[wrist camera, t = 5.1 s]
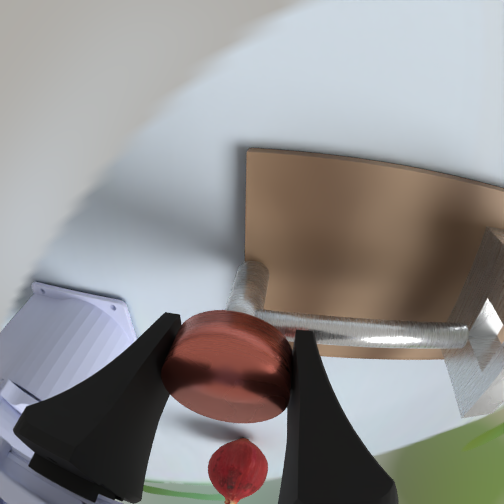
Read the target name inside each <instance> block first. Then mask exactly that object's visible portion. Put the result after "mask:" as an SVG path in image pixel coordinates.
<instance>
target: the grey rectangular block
mask: <svg viewBox="0 0 504 504" xmlns="http://www.w3.org/2000/svg"><path fill="white" fill-rule="evenodd" d="M447 322H454V323H465V324H466V325H467V327H468V332H469V334H468V341H467V343H466V345H465V346H464V347H463V348H449V349H441V351H442V354H443V357H444V360H445V363H446V366H447V370H448V373H449V376H450V379H451V383H452V386H453V389H454V393H455V396H456V400H457V404H458V408H459V411H460V415H461V418H466V417H473V416H479V415H485V414H490V413H493V412H494V411H495V410H496V409H497V408H498V407H499V406H500V405H501V403H502V402H503V401H504V342H503V343H502V344H501V342H500V340H499V338H498V336H497V335H498V333H499V331H500V330H501V328H502V326H504V229H499V228H493V227H488V226H486V229H485V232H484V235H483V238H482V241H481V244H480V246H479V249H478V252H477V254H476V257H475V260H474V262H473V265H472V267H471V270H470V272H469V274H468V277H467V279H466V281H465V284H464V286H463V288H462V290H461V293H460V295H459V297H458V299H457V301H456V303H455V306H454V308H453V310H452V312H451V314H450V316H449V318H448V320H447Z"/></svg>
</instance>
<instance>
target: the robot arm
mask: <svg viewBox="0 0 504 504" xmlns="http://www.w3.org/2000/svg"><path fill="white" fill-rule="evenodd" d="M31 288H32V290H33V293H34V294H33V296H32V297H31V298H30V299H29V300H28V301H27V302H26V303H25V304H24V306H23V307H22V308H21V309H20V310H19V311H18V312H17V313H16V315H15V316H14V317H13V318H12V319H11V320H10V322H9V323H8V324H7V325H6V326H5V328H4V329H3V330H2V331H1V332H0V504H122V503H120V502H117V501H115V499H117V500H120V501H123V500H125V501H127V502H130V503H133V504H134V503H137V502H139V501H141V499H142V492H143V486H144V480H145V474H146V470H147V465H148V460H149V456H150V452H151V448H152V444H153V440H154V436H155V433H156V429H157V426H158V422H159V420H160V417H161V414H162V412H163V409H164V407H165V405H166V402H167V400H168V397H169V395H170V393H169V392H168V391H167V390H166V388H165V386H164V384H163V382H162V378H161V370H162V367H163V365H164V362H165V360H166V358H167V356H168V353H169V351H170V349H171V346H172V344H173V342H174V340H175V337H176V335H177V333H178V331H179V329H180V327H181V319H180V315H179V314H173V313H167V312H165V313H164V314H163V315H162V316H161V317H160V318H159V319H158V320H157V321H156V322H155V323H154V324H153V325H151V326H150V327H149V328H148V329H147V330H146V331H145V332H144V333H143V334H142V335H141V336H140V337H139V338H138V339H137V337H136V334H135V331H134V327H133V324H132V321H131V317H130V314H129V310H128V307H127V305H126V303H125V302H123V301H121V300H117V299H112V298H107V297H102V296H97V295H92V294H87V293H83V292H78V291H74V290H69V289H65V288H60V287H56V286H51V285H47V284H43V283H39V282H33V283H32V284H31ZM292 351H293V365H292V377H291V389H290V400H289V404H288V406H287V445H286V453H285V461H284V468H283V475H282V482H281V488H280V495H279V501H278V504H398V495H397V489H396V486H395V482H394V481H393V479H392V478H391V477H390V476H389V475H388V474H387V473H386V472H385V471H384V469H383V468H382V467H381V466H380V465H379V464H378V462H377V461H376V460H375V459H374V457H373V456H372V455H371V453H370V452H369V451H368V449H367V448H366V446H365V445H364V444H363V442H362V441H361V439H360V438H359V436H358V435H357V433H356V432H355V430H354V429H353V427H352V425H351V424H350V422H349V420H348V419H347V417H346V415H345V413H344V411H343V410H342V408H341V406H340V404H339V402H338V400H337V397H336V395H335V393H334V391H333V389H332V386H331V384H330V382H329V379H328V376H327V374H326V371H325V369H324V366H323V363H322V360H321V357H320V354H319V350H318V347H317V343H316V338H315V333H314V332H313V331H307V330H296V333H295V339H294V345H293V350H292Z"/></svg>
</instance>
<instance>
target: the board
mask: <svg viewBox="0 0 504 504" xmlns="http://www.w3.org/2000/svg"><path fill="white" fill-rule="evenodd" d="M486 226H488V227H493V228H499V229H504V188H501V187H497V186H494V185H490V184H486V183H482V182H478V181H474V180H470V179H466V178H462V177H458V176H453V175H449V174H444V173H440V172H435V171H430V170H425V169H420V168H415V167H410V166H404V165H398V164H393V163H387V162H380V161H374V160H367V159H360V158H353V157H346V156H338V155H329V154H320V153H311V152H301V151H289V150H277V149H262V148H249V149H248V151H247V162H246V213H245V262H246V261H258V262H260V263H262V264H264V265H265V266H266V267H267V269H268V270H269V282H268V287H267V293H266V299H265V304H264V309H265V310H274V311H283V312H293V313H304V314H314V315H326V316H338V317H351V318H366V319H382V320H400V321H422V322H447V320H448V318H449V316H450V314H451V312H452V310H453V308H454V306H455V303H456V301H457V299H458V297H459V295H460V293H461V290H462V288H463V286H464V284H465V281H466V279H467V277H468V274H469V272H470V270H471V267H472V265H473V262H474V260H475V257H476V254H477V252H478V249H479V246H480V244H481V241H482V238H483V235H484V232H485V229H486ZM497 336H498V338H499V340H500V342H501V344H502V343H503V342H504V326H502V328H501V330H500V331H499V333H498V335H497ZM288 342H289V343H290V345H291V348H292V350H293V345H294V342H291V341H288ZM317 347H318V350H319V354H320V356H327V357H343V358H363V359H398V360H432V359H444V357H443V354H442V351H441V349H413V348H377V347H356V346H339V345H325V344H317Z"/></svg>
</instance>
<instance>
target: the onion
mask: <svg viewBox="0 0 504 504" xmlns="http://www.w3.org/2000/svg"><path fill="white" fill-rule="evenodd" d="M267 472H268V463H267V460H266V458H265V456H264V454H263V453H262V452H261V451H260V449H259V448H258V447H257V446H256V445H255V444H253V443H252V442H250V441H249V440H248V439H246V438H240V439H238V440H235V441H232V442H230V443H227V444H225V445H223V446H221V447H220V448H219V449H218V450H217V451H216V452H215V453H214V454H213V455H212V457H211V458H210V460H209V465H208V474H209V478H210V480H211V482H212V484H213V486H214V487H215V488H216V489H217V491H218V492H219V493H220V494H222V495H223V496H224V497H225V500H226V501H225V504H237V502H238V501H239V500H240V499H242V498H244V497H247V496H249V495H252V494H253V493H255V492H256V491H257V490H258V489H259V488H260V487H261V486H262V485H263V483H264V481H265V479H266V476H267Z"/></svg>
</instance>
